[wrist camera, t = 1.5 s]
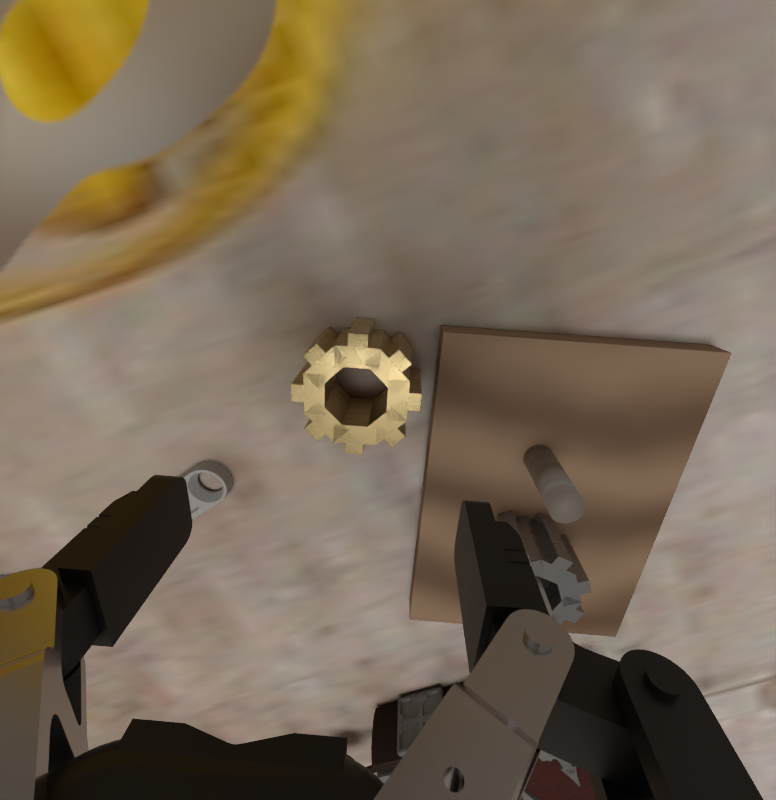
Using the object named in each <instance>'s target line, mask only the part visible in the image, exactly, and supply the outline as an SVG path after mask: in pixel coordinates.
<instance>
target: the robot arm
mask: <svg viewBox="0 0 776 800" xmlns="http://www.w3.org/2000/svg"><path fill="white" fill-rule="evenodd" d="M191 529H192V516H191V509H190V502H189V496H188V489H187V483H186V480H185V479H184V478H183V477H175V476H163V475H154V476H152V477H151V478H150V479H149V480H148V481H147V482H146V483H145V484H144V485H143V486H142V487H141V488H140V489H139V490H138V491H132V492H130V493H128V494H126V495H125V496H123V497H121V498H119V499H117V500H115V501H114V502H112V503H111V504H110V505H109V506H108V507H107V508H106V509H105V510H104V511H103V512H102V513H100V514H99V517H96V518H95V519H94V520H93V521H92V522H91V523H90V524H88V525H87V528H84V529H83V530H82V531H81V532H80V533H79V534H78V535H77V536H75V537H74V538H73V539H72V540H71V541H70V542H69V543H68V544H67V545H66V546H65V547H63V548H62V549H61V550H60V551H59V552H58V553H57V554H56V555H55V556H54V557H53V558H52V559H50V560H49V561H48V562H47V563H46V564H45V565H44V566H43V567H42V568H37V569H29V570H24V571H20V572H17V573H14V574H12V575H9V576H7V577H5V578H3V579H1V580H0V800H521V798H522V795H523V793H524V790H525V788H526V786H527V783H528V781H529V778H530V776H531V774H532V771H533V769H534V766H535V764H536V762H537V759H538V757H539V754H540V752H541V750H542V751H544V752H546V753H548V754H551V755H553V756H555V757H557V758H559V759H561V760H563V761H566V762H568V763H570V764H572V765H574V766H576V767H579V768H581V769H583V770H585V771H587V772H588V773H589V776H590V780H591V783H592V787H593V790H594V794H595V797H596V800H763V798H762V797H761V795H760V793H759V791H758V790H757V788H756V786H755V784H754V783H753V781H752V779H751V778H750V776H749V774H748V772H747V771H746V769H745V767H744V766H743V764H742V762H741V760H740V759H739V757H738V755H737V753H736V752H735V750H734V748H733V747H732V745H731V743H730V741H729V740H728V738H727V736H726V734H725V733H724V731H723V729H722V728H721V726H720V724H719V722H718V721H717V719H716V717H715V715H714V714H713V712H712V710H711V709H710V707H709V705H708V703H707V702H706V700H705V698H704V697H703V695H702V693H701V691H700V690H699V688H698V687H697V685H696V684H695V682H694V681H693V680H692V679H691V678H690V676H689V675H688V674H687V673H686V672H685V671H684V670H682V669H681V668H680V667H679V666H678V665H676V664H675V663H673V662H672V661H670V660H669V659H667V658H665V657H663V656H661V655H659V654H657V653H654V652H651V651H647V650H631V651H629V652H627V653H625V654H624V655H623V657H622V658H621V661H620V662H619V661H616V660H613V659H611V658H608V657H605V656H603V655H600V654H597V653H595V652H592V651H589V650H587V649H585V648H582V647H581V646H579V645H577V644H575V643H574V642H572V639H571V637H570V635H569V634H568V632H567V631H566V630H565V628H564V627H563V626H562V625H561V624H560V623H559V622H557V621H556V620H555V619H553V618H552V617H550V615H549V613H548V610H547V607H546V605H545V602H544V599H543V597H542V594H541V591H540V588H539V586H538V583H537V580H536V578H535V575H534V572H533V569H532V567H531V566H530V561H529V559H528V556H527V553H525V551H526V550H525V548H524V545H523V542H522V540H521V537H520V535H519V534H518V533H517V532H516V531H515V530H514V528H513V527H512V526H511V525H510V524H509V523H508V522H500V521H495V518H494V515H493V512H492V508H491V505H490V503H489V502H478V501H466V500H463V501H462V503H461V508H460V514H459V521H458V527H457V533H456V539H455V547H454V564H455V572H456V579H457V586H458V593H459V600H460V607H461V614H462V621H463V628H464V636H465V643H466V650H467V657H468V664H469V671H470V675H469V676H468V678H467V679H466V680H465V682H464V683H463V684H460V683H459V682H457V683H455V684H454V685H453V686H452V687H451V688H450V689H449V691H448V692H447V693H446V695H445V696H444V698H443V699H442V701H441V702H440V704H439V705H438V707H437V708H436V709H435V711H434V712H433V714H432V715H431V717H430V718H429V720H428V721H427V723H426V724H425V725H424V727H423V728H422V730H421V731H420V733H419V734H418V736H417V737H416V739H415V740H414V741H413V743H412V744H411V746H410V747H409V749H408V750H407V752H406V753H405V755H404V756H403V757H402V759H401V760H400V762H399V763H398V765H397V766H396V768H395V769H394V771H393V772H392V773H391V775H390V776H389V778H388V779H387V781H386V782H385V784H384V783H383V782H382V781H381V780H380V779H379V778H378V777H377V776H376V775H375V774H373V773H372V772H371V771H370V770H369V769H367V768H366V767H364V766H363V765H361V764H360V763H358V762H356V761H354V760H352V759H350V758H347V757H346V755H347V738H342V737H331V736H319V735H308V734H297V733H293V734H288V735H283V736H278V737H273V738H268V739H263V740H258V741H253V742H248V743H243V744H237V745H235V744H230V743H227V742H225V741H223V740H221V739H218V738H216V737H214V736H212V735H210V734H207V733H205V732H203V731H201V730H199V729H196V728H194V727H192V726H190V725H187V724H185V723H175V722H164V721H152V720H141V719H132V721H131V723H130V725H129V726H128V728H127V730H126V732H125V733H124V735H123V737H122V739H121V740H116V741H113V742H110V743H107V744H104V745H101V746H98V747H96V748H94V749H91V750H89V749H88V741H87V715H86V666H85V660H84V657H83V656H84V655H85V653H86V652H87V651H88V649H89V648H90V647H91V645H97V646H108V647H113V646H114V644H115V643H116V641H117V640H118V638H119V637H120V636H121V634H122V633H123V631H124V630H125V629H126V627H127V626H128V624H129V623H130V622H131V620H132V619H133V617H134V616H135V615H136V613H137V612H138V610H139V609H140V607H141V606H142V605H143V603H144V602H145V600H146V599H147V598H148V596H149V595H150V593H151V592H152V591H153V589H154V588H155V586H156V585H157V583H158V582H159V581H160V579H161V578H162V576H163V575H164V574H165V572H166V571H167V569H168V568H169V567H170V565H171V564H172V562H173V561H174V560H175V558H176V557H177V555H178V554H179V552H180V551H181V550H182V548H183V547H184V545H185V544H186V542H187V541H188V539H189V536H190V533H191Z"/></svg>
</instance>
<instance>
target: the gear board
mask: <svg viewBox="0 0 776 800" xmlns="http://www.w3.org/2000/svg"><path fill="white" fill-rule="evenodd" d="M730 356H731V353H730V352H728V351H725V350H723V349H720V348H717V347H715V346H712V345H707V344H693V343H679V342H665V341H651V340H638V339H624V338H610V337H596V336H582V335H568V334H555V333H541V332H527V331H513V330H499V329H485V328H472V327H458V326H444V325H441V332H440V341H439V350H438V358H437V367H436V376H435V384H434V393H433V402H432V410H431V419H430V428H429V436H428V445H427V454H426V462H425V471H424V480H423V488H422V497H421V506H420V514H419V523H418V532H417V540H416V549H415V558H414V566H413V575H412V584H411V592H410V619H411V620H423V621H434V622H446V623H458V624H463V621H462V614H461V607H460V600H459V593H458V586H457V579H456V572H455V564H454V547H455V539H456V533H457V527H458V521H459V514H460V508H461V503H462V501H463V500H466V501H478V502H489V503H490V505H491V508H492V512H493V515H494V518H495V521H499V519H498V515H497V514H498V513H502V512H506V511H510V510H512V511H513V514H514V516H515V518H516V517H520V516H526V517H528V518H531V519H533V518H534V517H535V516H536V515H537V513H538V512H539V513H542V514H544V515H546V516H548V517H550V518H552V520H553V522H554V524H555V526H556V528H557V530H558V533H559V535H563V534H566V536H567V538H568V540H569V542H570V544H571V546H572V548H573V550H574V551H575V553H576V555H577V557H578V559H579V561H580V563H581V565H582V567H583V569H584V571H585V573H586V575H587V577H588V579H589V581H590V586H591V591H592V593H587V594H582V595H580V596H581V601H582V603H581V604H580V605H581V607H582V609H583V611H584V614H583V615H582V616H581V617H580V618H579V619H578V620H577V621H576V622H575V623H572V622H570V621H567V620H565V621H564V622H563V623H562V624H561V625H562V626H563V627H564V628H565V630H566V631H567V632H568V633H577V634H589V635H601V636H613V637H616V634H617V632H618V629H619V627H620V625H621V622H622V620H623V617H624V615H625V612H626V610H627V607H628V605H629V603H630V600H631V598H632V595H633V593H634V590H635V588H636V585H637V583H638V581H639V578H640V576H641V573H642V571H643V568H644V566H645V563H646V561H647V559H648V556H649V554H650V551H651V549H652V546H653V544H654V541H655V539H656V537H657V534H658V532H659V529H660V527H661V524H662V522H663V519H664V517H665V514H666V512H667V510H668V507H669V505H670V502H671V500H672V497H673V495H674V492H675V490H676V488H677V485H678V483H679V480H680V478H681V475H682V473H683V470H684V468H685V466H686V463H687V461H688V458H689V456H690V453H691V451H692V448H693V446H694V444H695V441H696V439H697V436H698V434H699V431H700V429H701V426H702V424H703V422H704V419H705V417H706V414H707V412H708V409H709V407H710V404H711V402H712V400H713V397H714V395H715V392H716V390H717V387H718V385H719V382H720V380H721V378H722V375H723V373H724V370H725V368H726V365H727V363H728V360H729V358H730ZM535 578H536V580H537V583H538V586H539V588H540V591H541V594H542V597H543V599H544V602H545V605H546V607H547V610H548V613H549V615H550V617H552V615H553V612H552V609H551V606H550V604H549V601H548V598H547V596H546V593H545V590H544V588H543V585H542V582H541V580H540V577H539V576H535Z"/></svg>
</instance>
